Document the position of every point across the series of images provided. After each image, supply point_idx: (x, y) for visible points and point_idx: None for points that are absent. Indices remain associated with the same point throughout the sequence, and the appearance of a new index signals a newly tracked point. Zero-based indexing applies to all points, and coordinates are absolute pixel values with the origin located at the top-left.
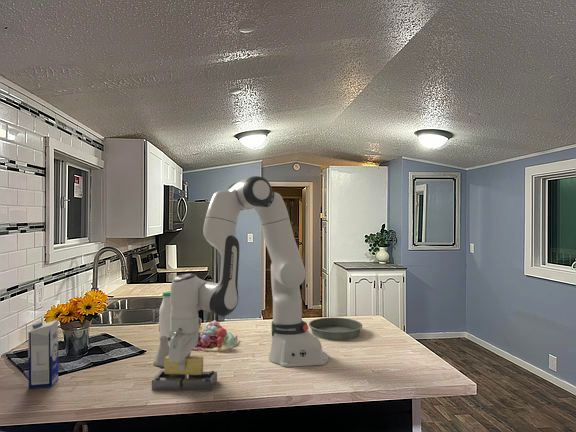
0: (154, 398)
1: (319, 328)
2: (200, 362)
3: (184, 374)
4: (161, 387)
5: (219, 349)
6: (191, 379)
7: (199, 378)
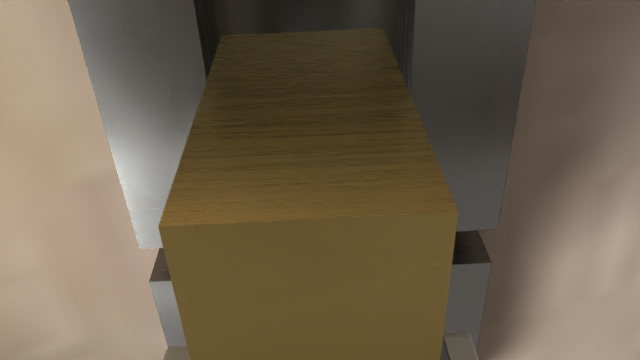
0: (625, 321)
1: None
2: (430, 172)
3: None
4: None
5: None
6: (453, 140)
7: None
